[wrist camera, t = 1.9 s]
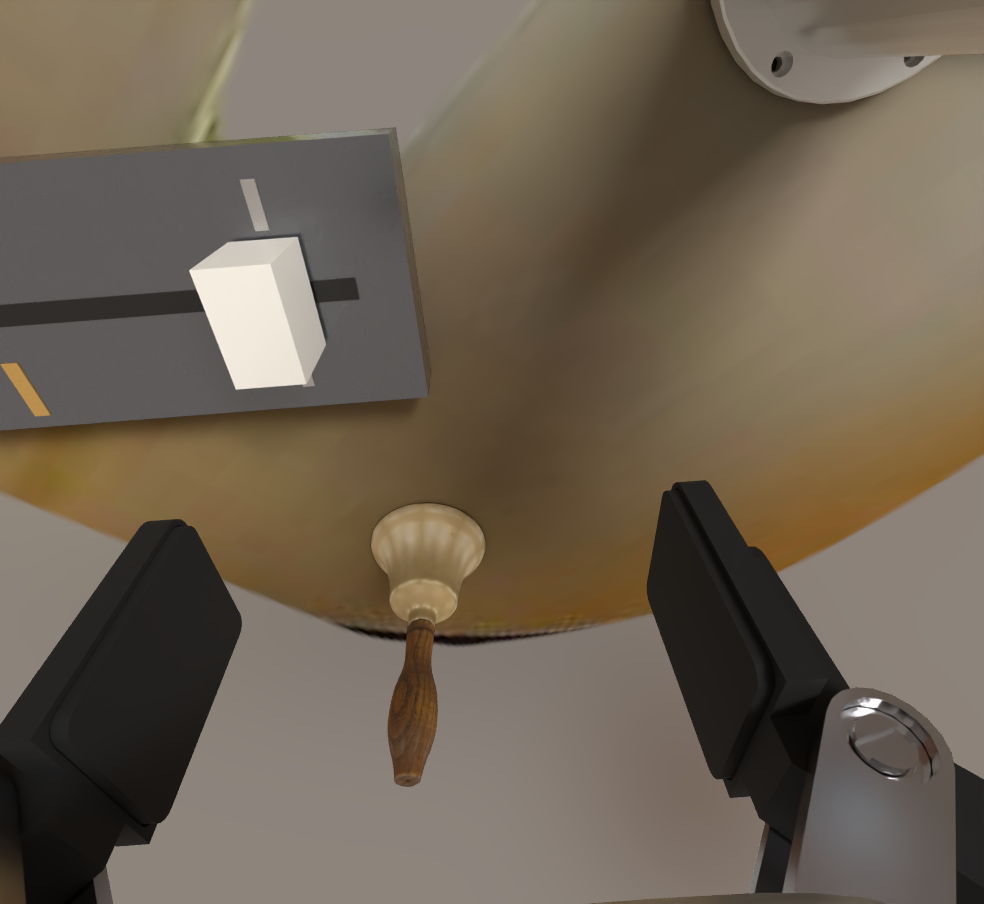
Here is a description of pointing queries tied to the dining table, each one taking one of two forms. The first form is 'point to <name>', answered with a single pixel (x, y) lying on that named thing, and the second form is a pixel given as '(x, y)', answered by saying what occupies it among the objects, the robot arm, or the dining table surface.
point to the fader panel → (170, 288)
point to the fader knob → (261, 311)
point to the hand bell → (422, 614)
